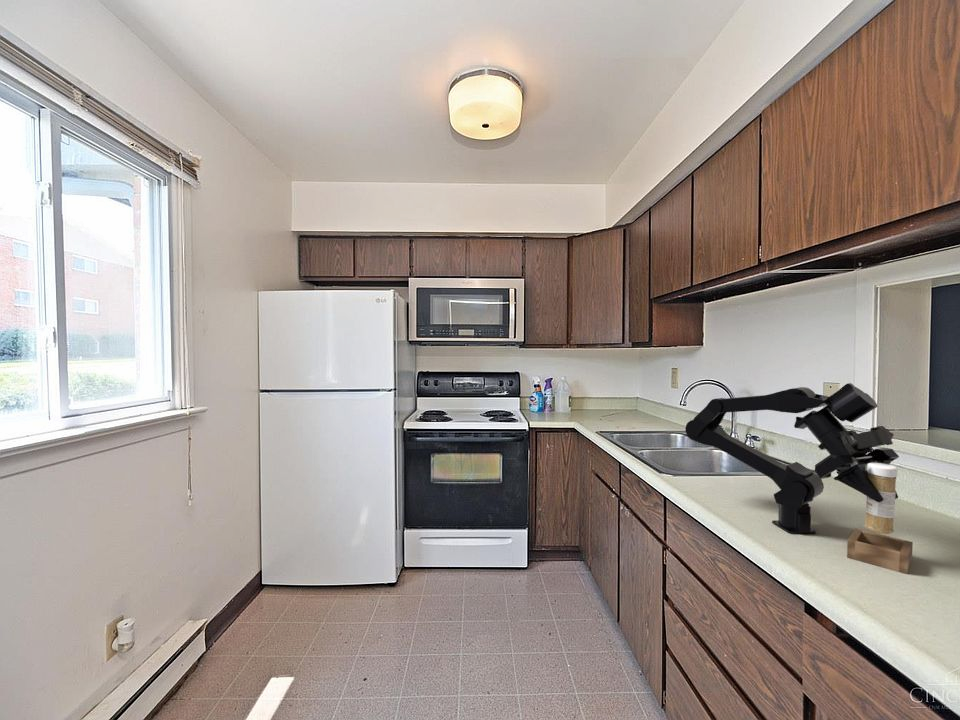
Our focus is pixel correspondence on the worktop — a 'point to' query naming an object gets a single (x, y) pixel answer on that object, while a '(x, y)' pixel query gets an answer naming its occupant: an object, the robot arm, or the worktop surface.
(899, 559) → the walnut collar
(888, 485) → the sprinkles bottle
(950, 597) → the worktop surface
